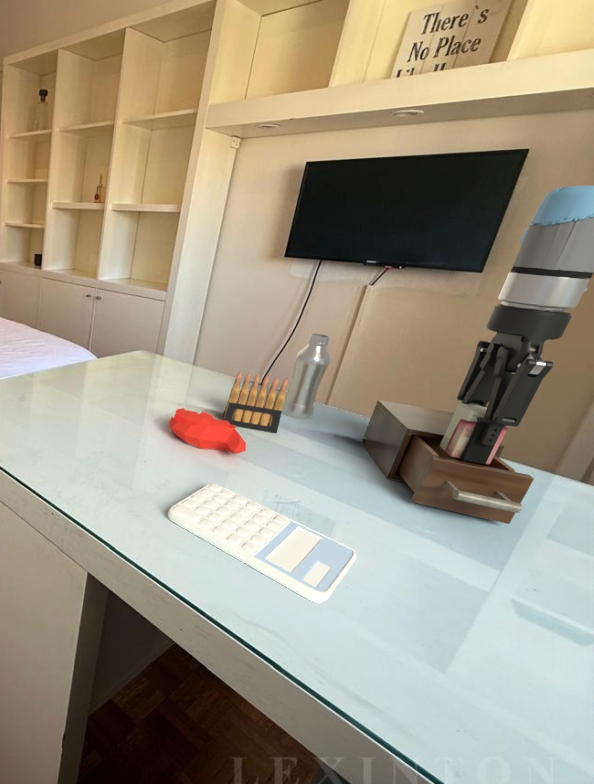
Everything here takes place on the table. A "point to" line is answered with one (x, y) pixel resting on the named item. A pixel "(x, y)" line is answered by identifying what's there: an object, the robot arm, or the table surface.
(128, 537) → the table surface
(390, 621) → the table surface
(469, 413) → the small box
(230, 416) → the ammunition clip
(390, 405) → the cabinet
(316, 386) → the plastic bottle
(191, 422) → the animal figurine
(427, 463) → the drawer
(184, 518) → the calculator
